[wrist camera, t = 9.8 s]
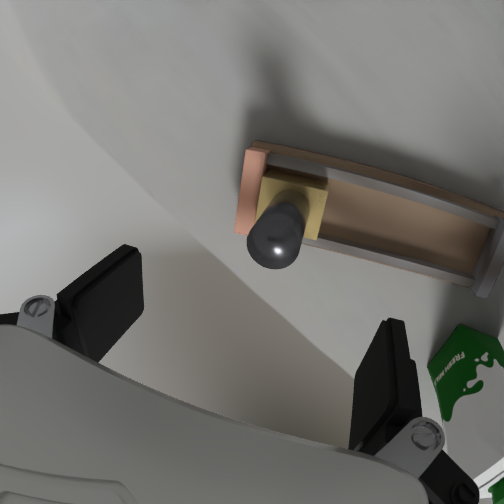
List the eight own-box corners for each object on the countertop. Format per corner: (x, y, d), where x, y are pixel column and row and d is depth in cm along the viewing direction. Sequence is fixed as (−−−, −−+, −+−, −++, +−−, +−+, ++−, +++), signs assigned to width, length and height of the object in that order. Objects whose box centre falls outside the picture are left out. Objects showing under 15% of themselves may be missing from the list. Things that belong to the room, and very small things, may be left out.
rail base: (255, 140, 27) (244, 144, 24) (504, 212, 23) (522, 226, 20) (243, 223, 31) (230, 238, 27) (475, 283, 27) (488, 303, 23)
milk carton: (466, 383, 32) (492, 515, 14) (416, 369, 33) (431, 521, 15) (506, 334, 28) (560, 470, 10) (457, 314, 29) (509, 475, 11)
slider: (270, 169, 26) (234, 201, 17) (329, 183, 25) (325, 222, 17) (262, 213, 28) (226, 265, 19) (318, 227, 27) (308, 286, 18)
